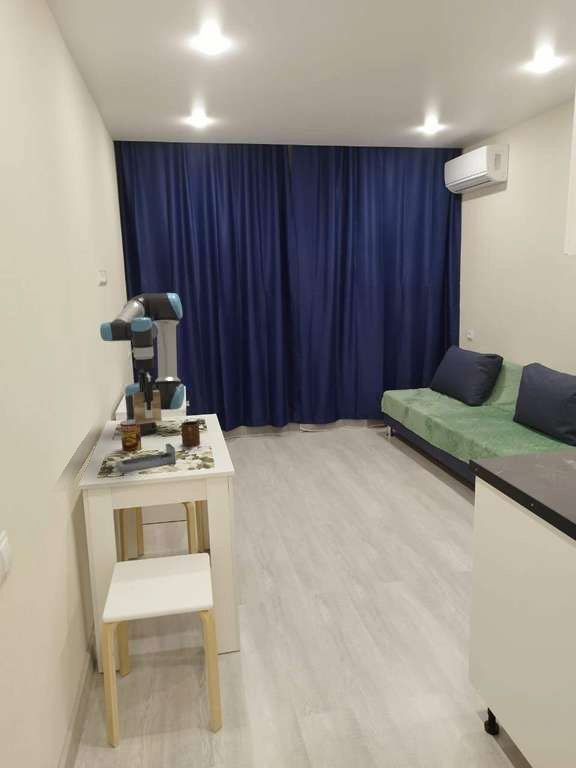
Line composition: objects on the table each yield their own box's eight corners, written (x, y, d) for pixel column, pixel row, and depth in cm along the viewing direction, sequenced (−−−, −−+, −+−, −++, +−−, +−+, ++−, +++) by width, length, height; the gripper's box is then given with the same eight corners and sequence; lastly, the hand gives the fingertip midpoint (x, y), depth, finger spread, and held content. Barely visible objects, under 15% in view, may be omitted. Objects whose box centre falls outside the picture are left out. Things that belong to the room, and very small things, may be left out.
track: (116, 467, 217) (115, 452, 216) (170, 457, 227) (169, 443, 226) (120, 472, 211) (119, 457, 210) (175, 462, 221) (174, 448, 220)
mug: (199, 449, 237) (198, 427, 236) (181, 450, 236) (179, 428, 235) (200, 441, 249) (199, 420, 247) (182, 442, 248) (181, 421, 246)
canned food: (119, 452, 236) (117, 424, 234) (125, 446, 244) (123, 419, 242) (138, 452, 236) (136, 424, 234) (143, 446, 244) (141, 419, 241)
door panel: (134, 423, 223) (132, 393, 221) (159, 419, 228) (157, 390, 226) (136, 424, 220) (134, 394, 218) (161, 421, 225) (159, 391, 223)
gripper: (129, 356, 225) (133, 414, 229) (139, 360, 211) (143, 422, 215) (148, 355, 228) (151, 412, 232) (159, 359, 214) (162, 419, 218)
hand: (147, 416), depth 224 cm, fingers closed on door panel, 3 cm apart
